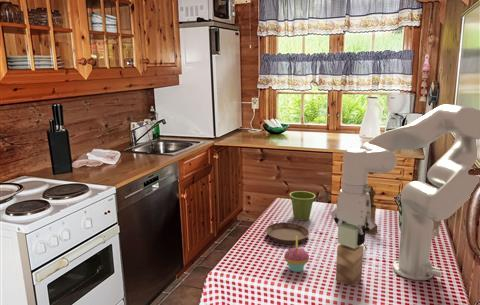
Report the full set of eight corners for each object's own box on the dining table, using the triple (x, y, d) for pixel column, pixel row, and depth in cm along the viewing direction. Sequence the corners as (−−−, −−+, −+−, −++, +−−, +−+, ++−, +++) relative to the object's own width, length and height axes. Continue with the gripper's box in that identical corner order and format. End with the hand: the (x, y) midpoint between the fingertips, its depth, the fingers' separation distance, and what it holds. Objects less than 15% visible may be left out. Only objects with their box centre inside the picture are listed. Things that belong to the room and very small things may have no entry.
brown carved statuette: (380, 230, 166) (383, 190, 162) (370, 234, 163) (373, 193, 159) (367, 225, 172) (370, 186, 168) (358, 229, 168) (360, 189, 164)
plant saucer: (312, 232, 166) (313, 225, 165) (303, 249, 150) (304, 242, 149) (272, 226, 172) (273, 219, 172) (260, 242, 156) (260, 235, 155)
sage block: (363, 242, 126) (365, 225, 124) (354, 248, 121) (355, 230, 120) (347, 237, 130) (348, 220, 128) (337, 242, 126) (338, 225, 124)
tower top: (362, 262, 127) (363, 245, 126) (353, 269, 123) (354, 251, 122) (346, 256, 131) (347, 240, 130) (336, 262, 127) (337, 245, 126)
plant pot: (310, 224, 173) (311, 200, 171) (285, 220, 178) (286, 196, 176) (317, 215, 184) (318, 192, 181) (293, 211, 189) (293, 189, 186)
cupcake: (283, 262, 140) (284, 231, 137) (307, 262, 139) (308, 231, 137) (285, 274, 131) (286, 242, 129) (310, 275, 131) (311, 242, 128)
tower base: (361, 279, 128) (362, 262, 127) (352, 286, 124) (353, 269, 123) (345, 272, 133) (346, 256, 131) (335, 279, 128) (336, 262, 127)
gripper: (386, 191, 118) (381, 245, 122) (336, 180, 130) (333, 230, 134) (374, 196, 113) (370, 253, 117) (323, 184, 125) (321, 236, 129)
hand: (351, 240), depth 126 cm, fingers closed on sage block, 6 cm apart
